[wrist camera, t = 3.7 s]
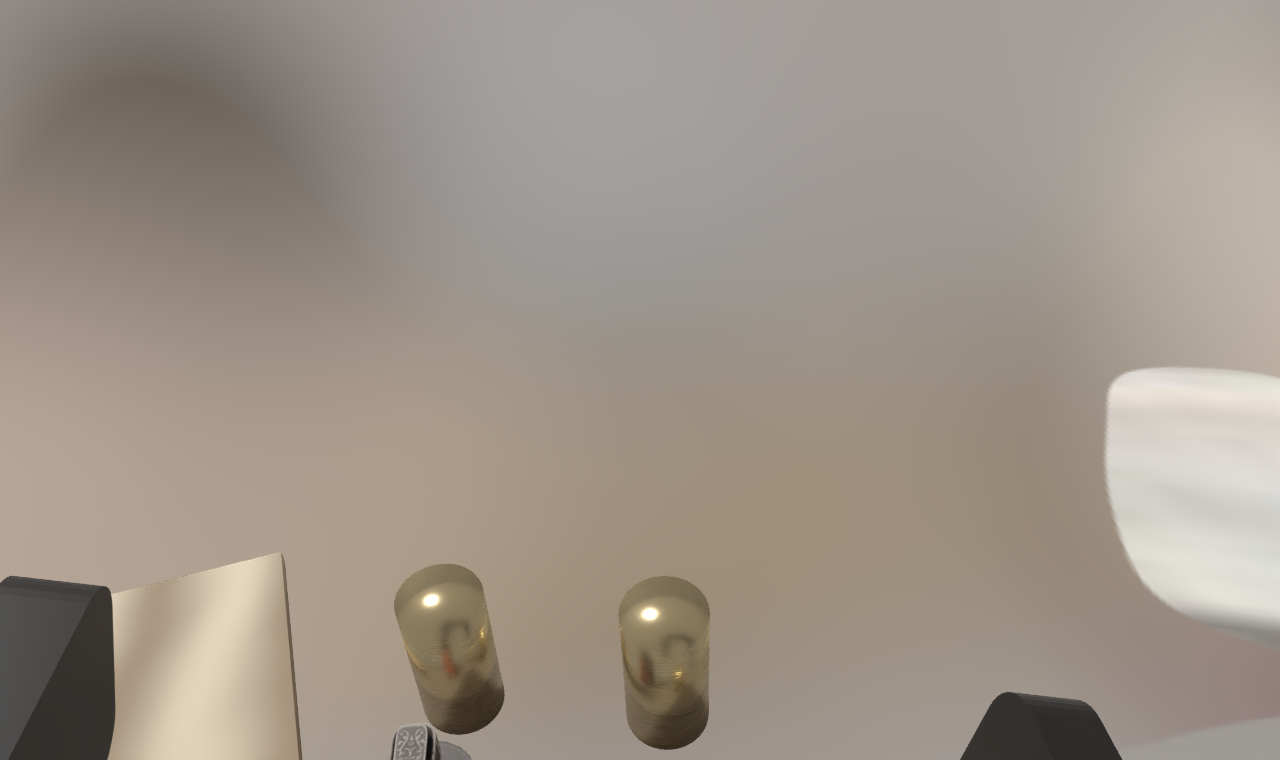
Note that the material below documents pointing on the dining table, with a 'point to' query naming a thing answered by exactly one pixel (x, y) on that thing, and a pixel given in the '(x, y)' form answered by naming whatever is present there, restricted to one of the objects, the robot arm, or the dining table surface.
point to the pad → (206, 667)
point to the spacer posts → (470, 675)
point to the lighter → (422, 745)
